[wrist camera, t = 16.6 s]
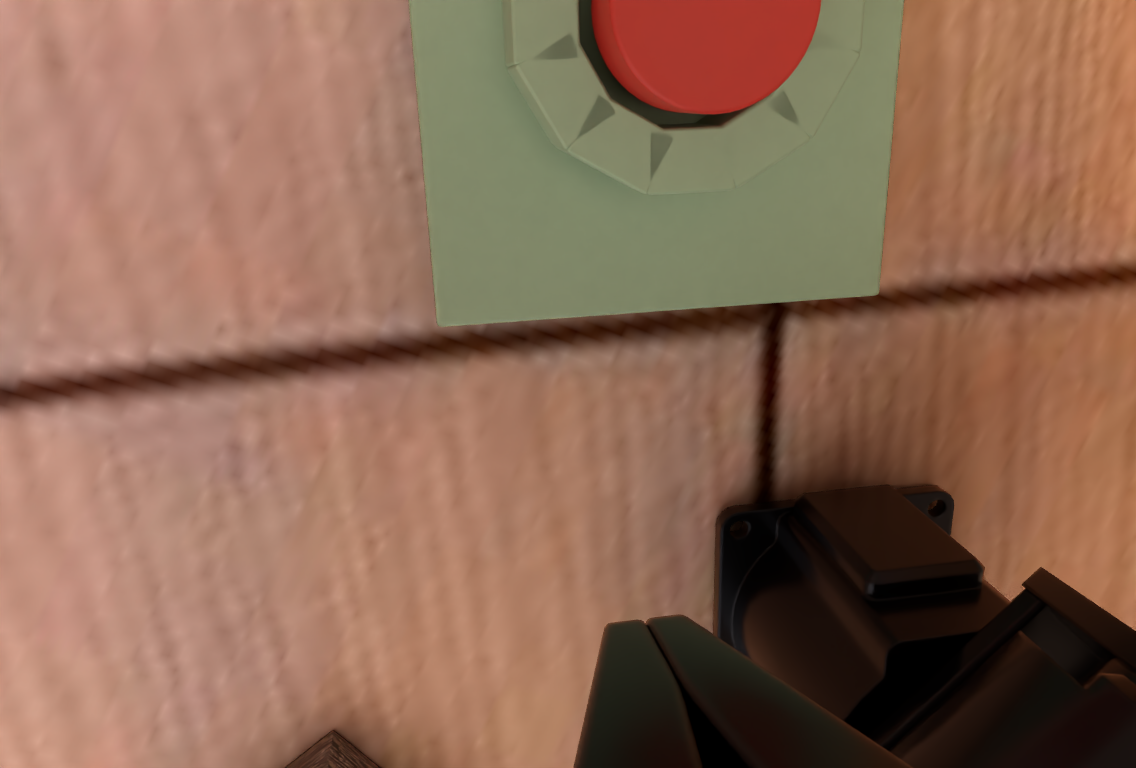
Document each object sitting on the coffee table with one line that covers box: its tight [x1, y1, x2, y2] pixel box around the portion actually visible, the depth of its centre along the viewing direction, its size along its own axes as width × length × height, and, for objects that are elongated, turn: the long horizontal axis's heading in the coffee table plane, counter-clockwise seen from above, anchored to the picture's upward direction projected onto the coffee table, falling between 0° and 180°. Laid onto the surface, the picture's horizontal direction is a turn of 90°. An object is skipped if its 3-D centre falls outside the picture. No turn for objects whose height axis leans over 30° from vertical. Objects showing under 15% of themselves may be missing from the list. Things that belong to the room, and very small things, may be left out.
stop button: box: [591, 0, 821, 114], centre depth 15 cm, size 4×4×2 cm
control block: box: [408, 0, 904, 327], centre depth 17 cm, size 12×10×4 cm
